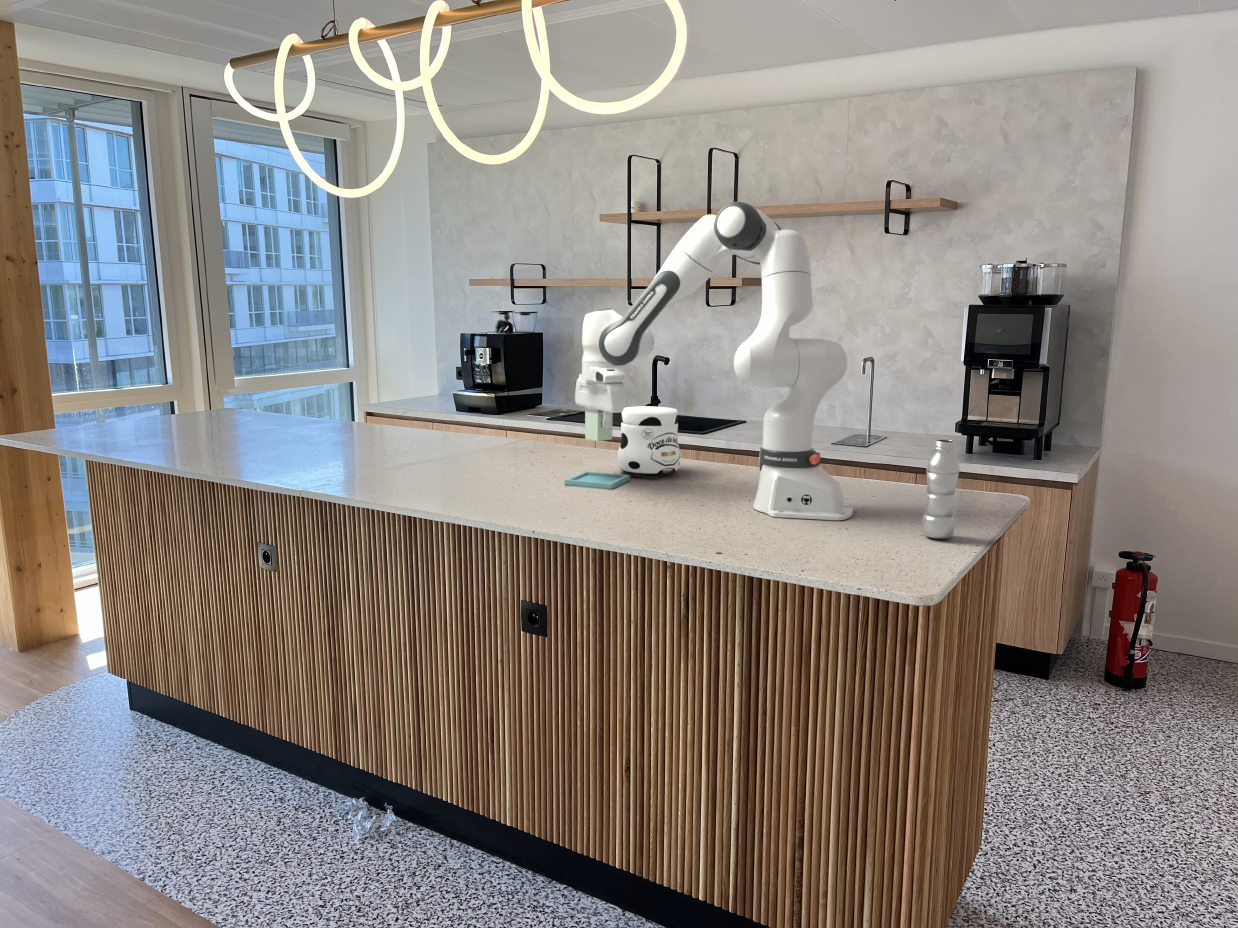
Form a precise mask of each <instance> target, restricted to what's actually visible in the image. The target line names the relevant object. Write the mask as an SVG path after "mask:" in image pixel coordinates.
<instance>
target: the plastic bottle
mask: <svg viewBox="0 0 1238 928" xmlns="http://www.w3.org/2000/svg"><path fill="white" fill-rule="evenodd" d="M933 447H934V450H935V452H934V453H933V454H932V455H931V456H930V458H929V459H928V461H927V463H926V466H925V467H926V468H925V469H926V487H927V488H926V491H927V493H926V502H925V508H924V513H923V516H922V520H921V531H922V533H923V535H924V536H925V537H928V538H932V539H937V540H941V539H942V540H944V539H949V538H952V536H953V535H954V534H955V529H956V519H955V518H956V517H955V494H956V487H957V483H958V478H959V473H960V463H959V461H958V459H957V458H956V456H955V455H954V451H955V440H950V439H936V440H935V442H934V446H933Z"/></svg>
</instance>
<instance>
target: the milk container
mask: <svg viewBox="0 0 1238 928" xmlns="http://www.w3.org/2000/svg"><path fill="white" fill-rule="evenodd" d="M678 413H679V412H678V409H677V408H674V407H666V406H656V405H655V406H650V405H649V406H647V405H645V406H639V405H638V406H628V407H627V406H626V407H625V408H624V410H623V412H621V413H620V414H621V417H620V421H621V423H620V430H621V431H620V433H621V435H620V436H621V437H620V443H619V448H618V452H617V465H618V467H619V470H621V472H622V473H624V474H626V475H630V476H638V477H648V478H650V477H653V478H654V477H663V476H669V475H673V474H675V473H676V472H677V471H678V470H679V469H680V465H681V459H682V458H681V450H680V447H679V440H678V437H679V436H678V434H679V433H678V432H679V423H678V422H679V414H678Z"/></svg>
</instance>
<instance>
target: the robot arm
mask: <svg viewBox="0 0 1238 928" xmlns="http://www.w3.org/2000/svg"><path fill="white" fill-rule="evenodd" d="M734 255H735V256H736V257H737V258H738V259H741V260H743V261H746V262H749V263H751V264H755V265H760V271H761V274H760V275H761V276H760V277H761V299H762V300H761V314H760V319H759V322H758V324H757V326H756V328H755V330H754V331H753V332H752V333H751V335H750V336H749V337H748V338H747V339H746V340H744V341H743V342H742V343H741V344H740V345H739V346H738V347H737V350H736V352H735V353H734V357H733V369H734V373H735V375H736V377H737V379H738V380H739V381H740V383H742V384H744V385H748V386H752V387H757V388H767V389H768V388H770V389H771V388H789V389H788V392H787V394H786V396H785V398H784V399H783V400H782V401H780V402H778V403H776V404H774V405H772V406H771V407H770V408H769V409H767V411H766V412H765V414H764V417H763V421H762V425H763V427H762V443H761V444H762V446H761V447H760V451H759V456H758V457H759V460H758V461H759V463H758V468H759V472H760V473H759V480H758V486H757V490H756V491H757V492H756V495H755V499H754V502H753V505H752V508H753V509H754V510H756V511H758V512H761V513H764V514H767V515H769V517H773V518H774V517H775V518H784V519H786V518H788V519H805V520H806V519H807V520H824V521H825V520H826V521H843V520H847V519H849V518H850V517H852V515H853V514H854V508H853V506H851V504H847V503H845V502H844V501H845V499H844V491H843V489H842V485H841V484H840V482H839V481H837V480H836V479H835V478H834V477H832V475H830V474H829V473H828V472H827V471H826V470H824V468H822V467H821V466H820V464H821V452H820V451H819V452H817V450H815V449H813V448H812V447H813V446H812V443H813V432H814V431H813V430H814V423H815V422H814V421H815V417H816V413H817V410H818V408H819V406H820V403H821V402H822V400H823V398H824V397H825V396H826V394H827V393H828V392H829V391H830V390H831V389H832V388H833V387H835V386H836V385H838V384H839V383H840V382H841V381H842V379H843V378H844V376H845V374H846V372H847V370H848V356H847V353H846V351H845V349H844V347H843V346H842V345H841V344H840V342H836V341H832V340H829V339H822V338H792V337H791V336H790V331H791V330H790V329H791V327H792V326H795V325H797V324H799V323H800V322H802V321H804V320H806V318H807V317H808V316H809V315H810V313H811V312H812V310H813V305H814V304H813V289H812V273H811V272H812V271H811V263H810V257H809V251H808V247H807V243H806V240H805V238H804V237H803V235H802V234H801V233H799V232H798V231H795V230H792V229H781V227H780V225H779V224H777V223H776V221H775V222H774V221H773V219H771V218H770V217H769V216H768V215H767V214H766V213H765V212H763V211H761V210H760V209H758V208H756V207H754V206H753V205H752V204H749V203H746V202H742V201H732V202H729V203H727V204H725V205H723V207H722V208H721V209H719V211H718V213H717V214H706V215H704V216H702V217H701V218H700V219H699V220H698V221H697V222H695V223H694V224H693V226H691V227H690V228H689V230H688V231H687V232H686V233H685V234H684V235H683V237H682V238H681V239H680V240H679V241H678V242H677V244H676V245H675V247H674V248H673V249H672V251H671V253H670V254H669V255H668V257H667V258H666V260H665V261H664V263H663V264H662V266H661V268H660V269H659V270H658V272H657V274H656V275H655V276H654V277H653V279H652V281H651V283H649V285H648V286H647V287H646V288H645V290H644V291H643V292H642V293H641V295H640V296H639V297H638V298H637V300H635V302H634V303H633V304H632V305H631V306H630V308H629V309H628V310H627V312H625V314H624V315H623V316H622V315H621V314H619V313H617V312H616V311H615V310H614V309H613V308H603V309H596V310H591V311H588V312H587V314H585V316H584V319H583V324H582V331H581V332H582V333H581V334H582V335H581V345H582V350H583V354H582V358H581V372H580V373H579V375H578V378H577V379H576V383H575V392H574V401H575V405H577V406H580V407H584V408H588V407H589V408H594V409H598V410H601V411H603V415H604V417H603V421H601V427H602V428H605V429H606V428H609V427H610V420H611V418H612V419H613V414H619V413H620V414H621V413H622V412H623V410H624V408H626V386H625V385H626V384H624V383H626V381H627V373H625V372H624V371H622V370H621V369H620V367H619V366H626V365H628V364H630V363H633V362H637V361H641V360H643V359H645V358H647V357H648V356H649V355H650V353H651V352H652V351H653V349H654V341H655V340H654V335H653V333H652V331H651V330H650V329H649V328H650V327H651V325H652V324H653V323H654V322H655V320H656V319H657V318H658V316H660V315H661V313H662V312H663V311H664V309H666V308H667V307H668V306H670V305H671V304H672V303H674V302H675V301H677V300H680V299H682V298H684V297H687V296H688V295H689V296H690V295H691V294H693V293H695V292H696V291H697V290H698V289H699V288H700V287H702V286H703V285H704V284H705V283H706V282H707V281H708V280H709V279H710V277H711V276H712V274H714V272H715V271H716V270H717V268H718V267H719V266H720V264H721V262H722V261H723V260H724V259H726V258H727V257H729V256H734Z"/></svg>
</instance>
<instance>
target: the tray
mask: <svg viewBox="0 0 1238 928" xmlns="http://www.w3.org/2000/svg"><path fill="white" fill-rule="evenodd" d="M630 481H631V475H630V474H620V473H609V472H607V473H606V472H599V471H598V472H597V471H583V472H581V473H578V474H575V475H573V476H571V477H569V478H565V479H564V486H568V487H569V486H571V487H580V488H581V487H582V488H583V487H584V488H591V489H592V488H593V489H601V490H602V489H603V490H613V489H615V488H617V487H620V486H621V485H624V484H625V483H628V482H630Z"/></svg>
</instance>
